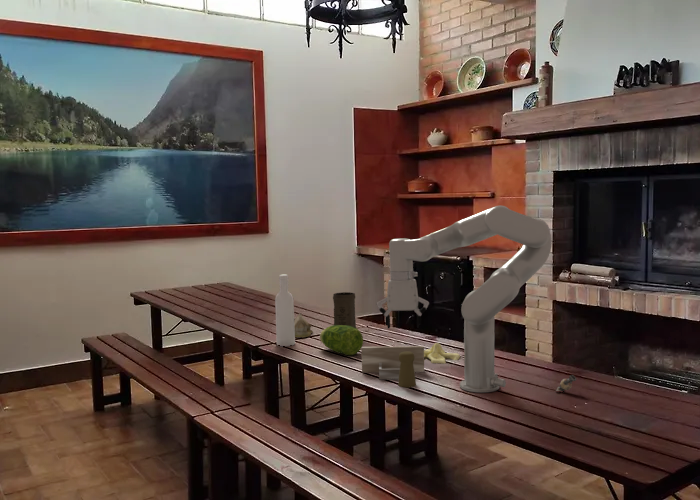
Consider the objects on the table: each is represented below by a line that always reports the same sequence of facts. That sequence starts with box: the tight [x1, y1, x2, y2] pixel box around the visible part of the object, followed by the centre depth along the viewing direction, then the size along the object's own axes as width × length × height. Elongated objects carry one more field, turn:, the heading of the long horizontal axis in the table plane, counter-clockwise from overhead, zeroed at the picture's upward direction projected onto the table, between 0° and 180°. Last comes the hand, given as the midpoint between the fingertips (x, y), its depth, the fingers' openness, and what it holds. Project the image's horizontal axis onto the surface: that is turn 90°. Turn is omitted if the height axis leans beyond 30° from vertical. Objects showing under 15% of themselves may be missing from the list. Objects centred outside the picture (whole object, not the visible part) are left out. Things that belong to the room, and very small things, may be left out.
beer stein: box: [332, 291, 357, 328], centre depth 289 cm, size 15×11×20 cm
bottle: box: [274, 273, 296, 347], centre depth 274 cm, size 8×8×30 cm
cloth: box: [424, 342, 461, 365], centre depth 248 cm, size 22×19×6 cm
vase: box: [555, 374, 577, 392], centre depth 201 cm, size 5×5×6 cm
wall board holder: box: [361, 345, 425, 380], centre depth 224 cm, size 10×22×9 cm, turn 87°
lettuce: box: [319, 324, 364, 357], centre depth 260 cm, size 12×21×11 cm, turn 43°
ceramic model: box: [294, 312, 314, 338], centre depth 294 cm, size 14×11×10 cm
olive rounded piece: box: [397, 351, 417, 388], centre depth 213 cm, size 6×6×11 cm
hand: (403, 327), depth 214 cm, fingers open, 9 cm apart
